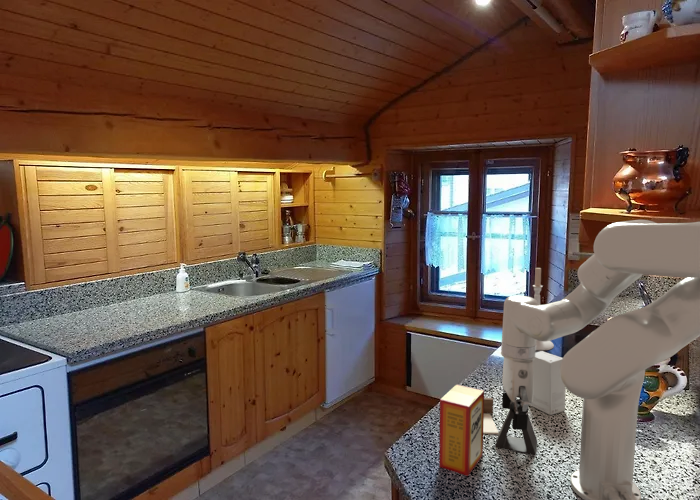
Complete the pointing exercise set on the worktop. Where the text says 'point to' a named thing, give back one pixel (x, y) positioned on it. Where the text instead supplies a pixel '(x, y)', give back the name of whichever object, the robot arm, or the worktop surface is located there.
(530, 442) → the black tapered piece
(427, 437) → the worktop surface
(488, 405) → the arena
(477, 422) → the baking soda box
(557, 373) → the skincare box
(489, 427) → the pad
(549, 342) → the candlestick
